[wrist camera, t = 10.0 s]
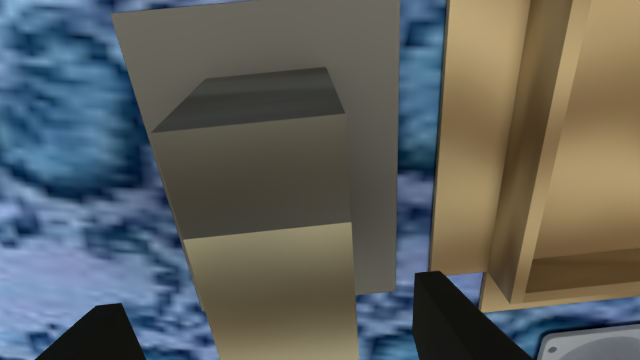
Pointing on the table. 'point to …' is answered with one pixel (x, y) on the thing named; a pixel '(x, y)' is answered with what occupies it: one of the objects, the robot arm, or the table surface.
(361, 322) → the table surface
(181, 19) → the gray panel
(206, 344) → the table surface
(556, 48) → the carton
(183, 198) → the capped block
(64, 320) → the table surface
